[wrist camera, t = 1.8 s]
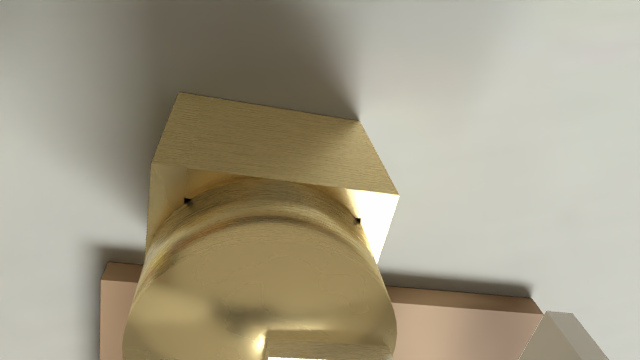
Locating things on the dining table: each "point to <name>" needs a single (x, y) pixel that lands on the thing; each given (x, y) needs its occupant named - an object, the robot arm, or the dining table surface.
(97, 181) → the dining table surface
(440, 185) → the dining table surface
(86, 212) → the dining table surface
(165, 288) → the knob
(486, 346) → the plate
